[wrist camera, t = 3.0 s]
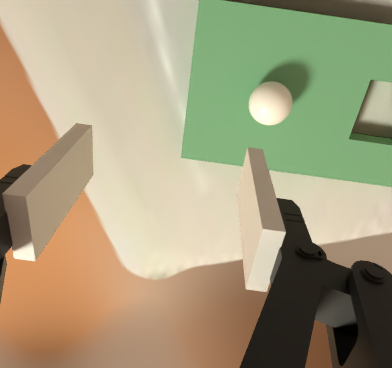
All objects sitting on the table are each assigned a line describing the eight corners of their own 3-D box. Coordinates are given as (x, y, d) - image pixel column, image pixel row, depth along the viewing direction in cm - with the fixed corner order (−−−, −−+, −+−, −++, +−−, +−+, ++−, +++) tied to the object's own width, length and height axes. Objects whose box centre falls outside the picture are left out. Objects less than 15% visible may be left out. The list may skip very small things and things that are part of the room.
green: (182, 149, 35) (177, 171, 31) (200, -4, 29) (197, -3, 24) (410, 181, 36) (437, 207, 31) (482, 37, 29) (529, 46, 25)
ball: (243, 114, 31) (246, 128, 28) (251, 74, 29) (255, 84, 26) (282, 119, 31) (289, 134, 28) (292, 80, 30) (301, 90, 26)
